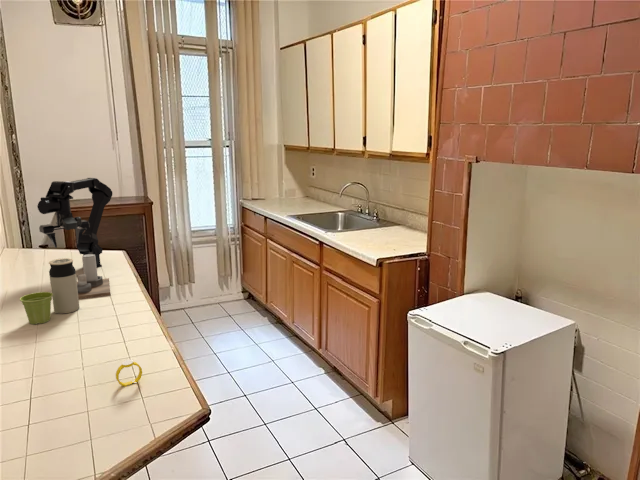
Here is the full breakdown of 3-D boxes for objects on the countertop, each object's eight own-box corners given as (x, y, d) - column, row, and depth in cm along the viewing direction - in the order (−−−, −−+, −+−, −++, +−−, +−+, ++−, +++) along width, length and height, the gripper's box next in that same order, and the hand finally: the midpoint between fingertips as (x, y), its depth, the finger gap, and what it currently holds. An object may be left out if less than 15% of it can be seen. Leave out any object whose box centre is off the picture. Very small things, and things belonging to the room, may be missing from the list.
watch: (119, 390, 115) (115, 368, 114) (116, 386, 117) (112, 364, 116) (144, 381, 118) (140, 360, 117) (141, 377, 121) (137, 356, 119)
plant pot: (16, 324, 155) (12, 298, 153) (42, 314, 163) (39, 290, 161) (36, 328, 151) (33, 302, 149) (62, 318, 160) (59, 293, 158)
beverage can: (98, 284, 191) (95, 255, 189) (85, 286, 189) (82, 257, 186) (97, 281, 195) (94, 253, 193) (84, 283, 193) (81, 254, 190)
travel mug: (84, 308, 169) (79, 259, 165) (64, 315, 162) (58, 264, 158) (69, 304, 172) (63, 256, 168) (48, 312, 165) (42, 262, 161)
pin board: (66, 285, 194) (64, 268, 192) (109, 280, 200) (107, 263, 199) (63, 300, 176) (61, 281, 174) (110, 295, 183) (108, 276, 181)
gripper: (46, 215, 191) (50, 252, 195) (93, 210, 205) (96, 245, 208) (36, 212, 199) (41, 248, 202) (82, 207, 212) (86, 241, 215)
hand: (67, 245), depth 207 cm, fingers open, 9 cm apart
